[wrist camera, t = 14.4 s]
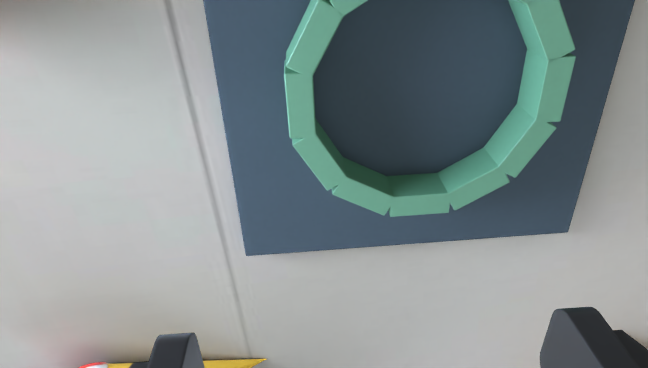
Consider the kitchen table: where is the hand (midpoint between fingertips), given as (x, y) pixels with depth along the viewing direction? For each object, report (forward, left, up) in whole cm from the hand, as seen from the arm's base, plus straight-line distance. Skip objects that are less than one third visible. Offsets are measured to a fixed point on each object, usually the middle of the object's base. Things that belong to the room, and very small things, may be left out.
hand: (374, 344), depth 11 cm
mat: (+1, +5, -18) cm, 19 cm away
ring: (0, +5, -17) cm, 18 cm away
